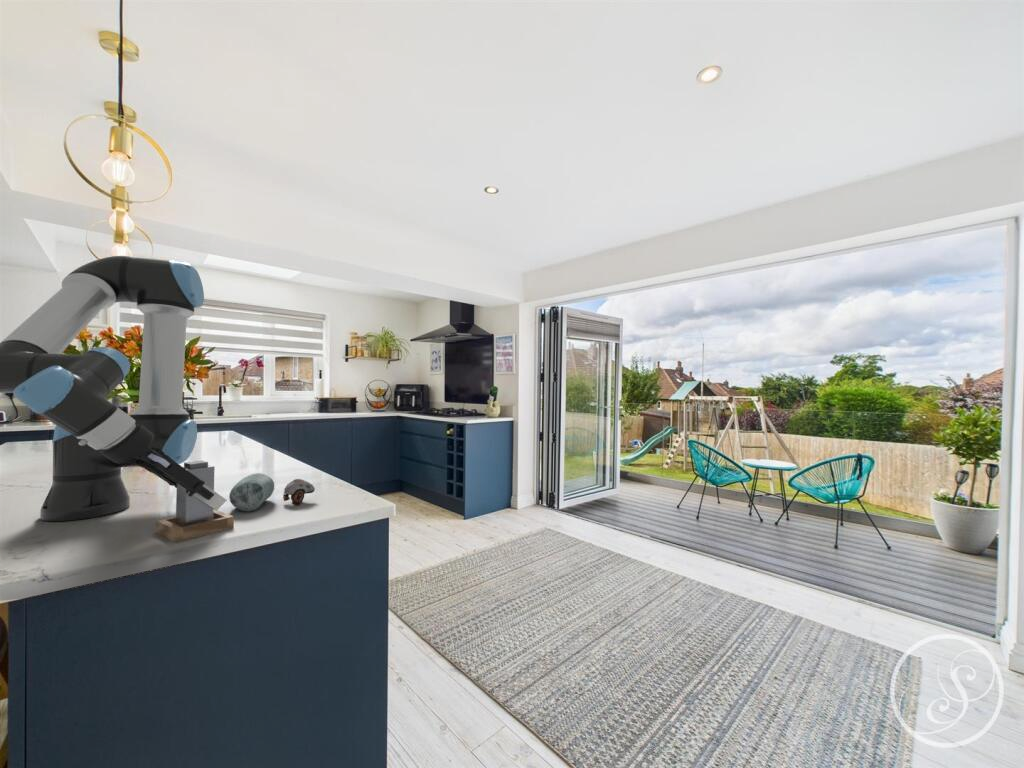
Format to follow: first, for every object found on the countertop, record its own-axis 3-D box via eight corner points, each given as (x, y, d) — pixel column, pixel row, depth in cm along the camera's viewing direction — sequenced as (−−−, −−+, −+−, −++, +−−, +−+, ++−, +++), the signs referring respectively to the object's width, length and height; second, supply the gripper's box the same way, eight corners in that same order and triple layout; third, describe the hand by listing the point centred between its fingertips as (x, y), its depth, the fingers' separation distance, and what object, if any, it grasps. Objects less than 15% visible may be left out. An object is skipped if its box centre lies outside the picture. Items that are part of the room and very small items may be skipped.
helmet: (282, 502, 109) (283, 478, 110) (313, 498, 114) (314, 475, 114) (284, 507, 105) (284, 482, 105) (316, 503, 109) (316, 479, 109)
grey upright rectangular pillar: (175, 523, 87) (177, 462, 87) (203, 517, 91) (204, 459, 91) (185, 527, 84) (187, 465, 84) (213, 521, 88) (214, 461, 89)
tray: (155, 532, 86) (156, 520, 86) (212, 519, 95) (212, 508, 95) (175, 542, 81) (176, 530, 81) (233, 527, 90) (233, 516, 90)
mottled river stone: (268, 500, 100) (252, 464, 101) (228, 520, 97) (212, 483, 99) (288, 499, 113) (274, 467, 114) (253, 517, 110) (239, 484, 112)
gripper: (84, 448, 80) (183, 511, 93) (114, 456, 70) (220, 525, 84) (121, 419, 84) (211, 483, 98) (154, 424, 75) (248, 494, 89)
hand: (215, 502), depth 91 cm, fingers closed on grey upright rectangular pillar, 5 cm apart
